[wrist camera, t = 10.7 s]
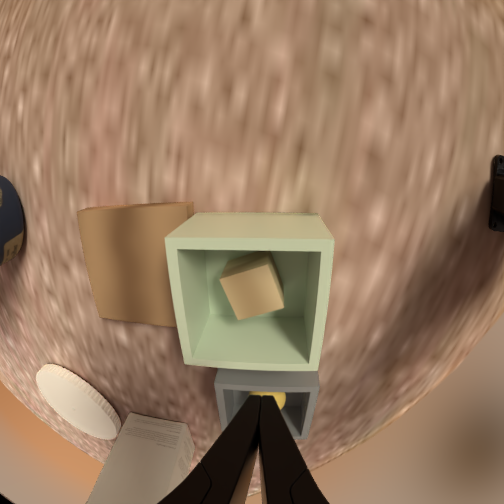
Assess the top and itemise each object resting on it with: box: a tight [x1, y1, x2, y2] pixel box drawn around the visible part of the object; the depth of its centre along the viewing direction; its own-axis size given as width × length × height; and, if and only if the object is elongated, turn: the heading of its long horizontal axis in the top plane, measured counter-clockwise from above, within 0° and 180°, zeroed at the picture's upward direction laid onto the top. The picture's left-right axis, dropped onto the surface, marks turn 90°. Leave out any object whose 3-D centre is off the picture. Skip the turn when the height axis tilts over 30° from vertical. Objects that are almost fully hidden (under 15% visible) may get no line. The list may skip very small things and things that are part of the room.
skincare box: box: [86, 412, 195, 504], centre depth 21 cm, size 8×7×16 cm
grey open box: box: [214, 368, 320, 439], centre depth 21 cm, size 8×8×4 cm
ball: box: [248, 391, 286, 410], centre depth 21 cm, size 3×3×3 cm
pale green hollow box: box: [165, 212, 335, 371], centre depth 17 cm, size 8×8×6 cm
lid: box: [77, 202, 194, 327], centre depth 20 cm, size 9×9×2 cm
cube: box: [219, 251, 284, 320], centre depth 18 cm, size 3×3×3 cm
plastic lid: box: [36, 364, 121, 440], centre depth 28 cm, size 14×14×2 cm
